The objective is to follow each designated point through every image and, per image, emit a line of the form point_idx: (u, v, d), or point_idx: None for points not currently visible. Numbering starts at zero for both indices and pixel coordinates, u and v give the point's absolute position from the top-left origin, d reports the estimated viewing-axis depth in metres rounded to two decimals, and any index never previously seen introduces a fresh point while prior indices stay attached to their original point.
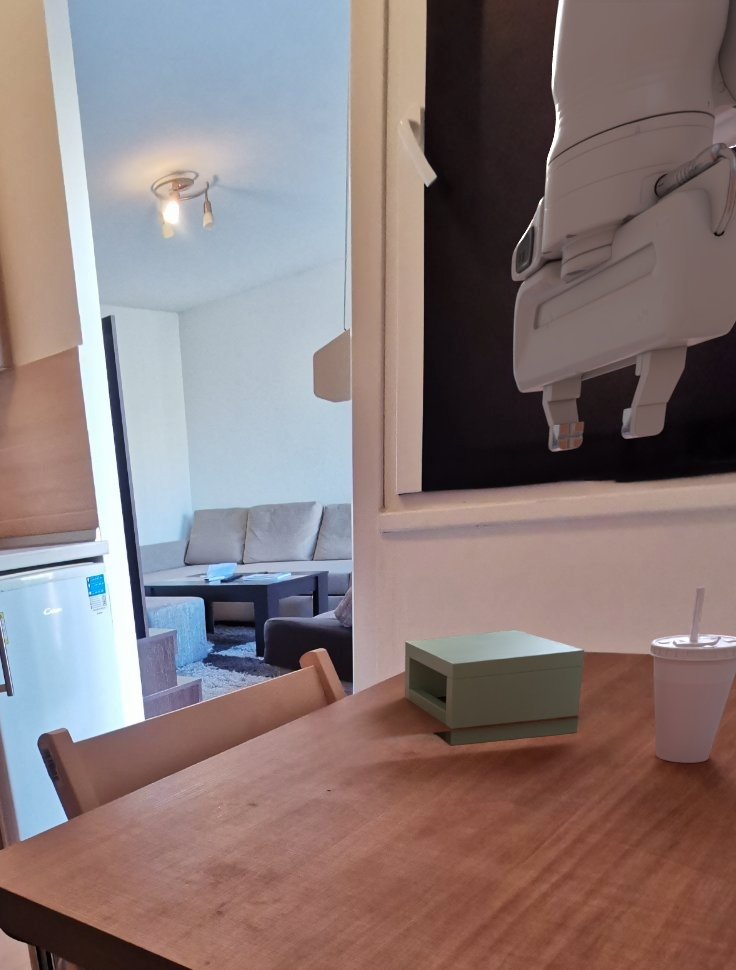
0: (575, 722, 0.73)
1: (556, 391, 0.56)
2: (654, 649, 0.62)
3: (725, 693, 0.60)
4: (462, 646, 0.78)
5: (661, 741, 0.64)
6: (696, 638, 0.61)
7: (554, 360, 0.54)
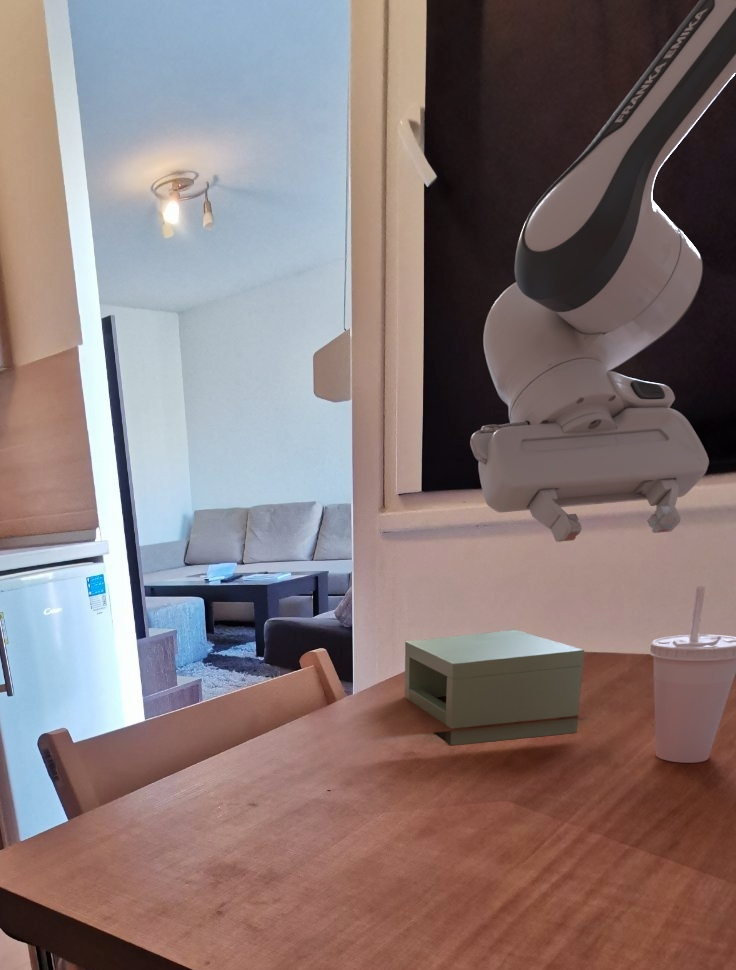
0: (575, 722, 0.73)
1: (650, 498, 0.71)
2: (654, 649, 0.62)
3: (725, 693, 0.60)
4: (462, 646, 0.78)
5: (661, 741, 0.64)
6: (696, 638, 0.61)
7: None
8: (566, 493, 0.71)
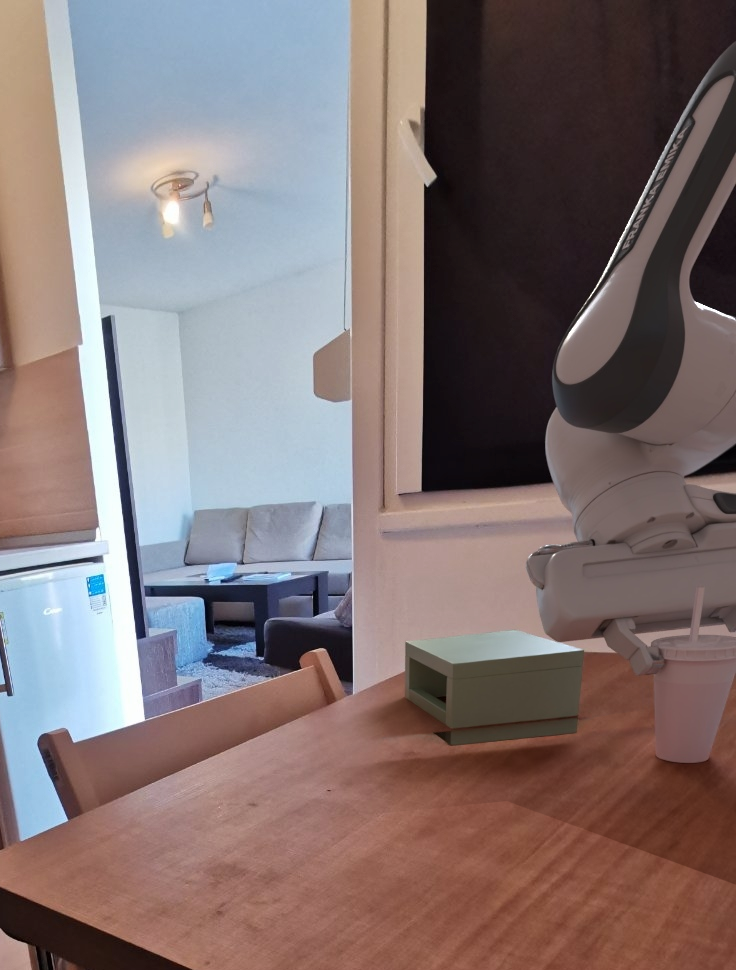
0: (575, 722, 0.73)
1: (729, 624, 0.63)
2: None
3: (725, 693, 0.60)
4: (462, 646, 0.78)
5: (661, 741, 0.64)
6: (696, 638, 0.60)
7: None
8: (638, 620, 0.64)
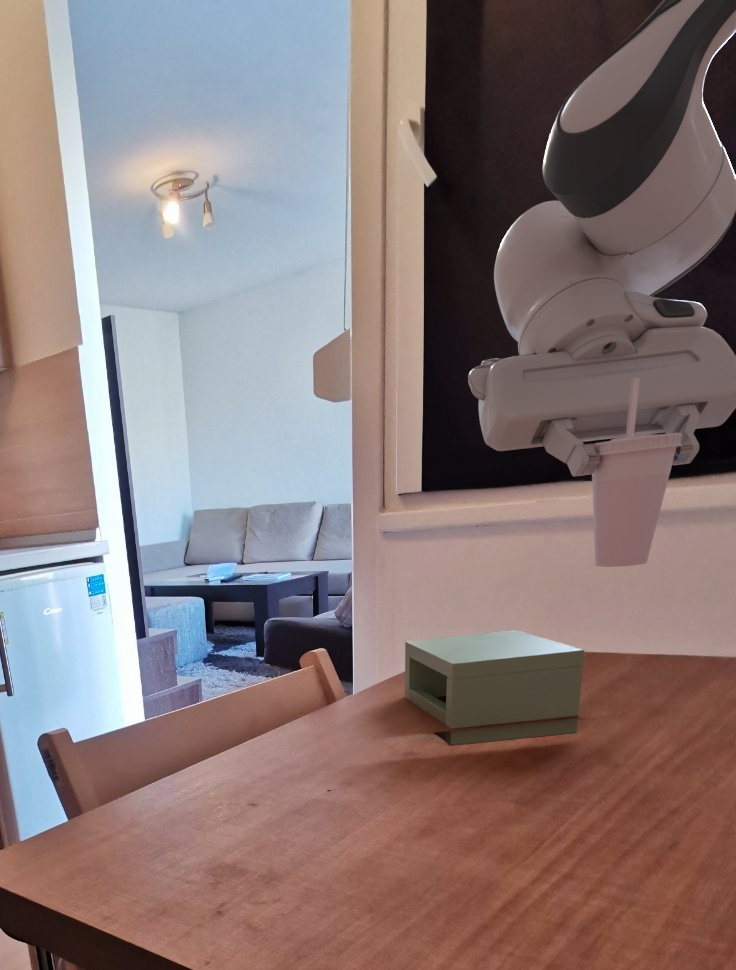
0: (575, 722, 0.73)
1: (667, 429, 0.63)
2: None
3: (660, 488, 0.60)
4: (462, 646, 0.78)
5: (599, 547, 0.64)
6: (632, 434, 0.60)
7: None
8: (577, 426, 0.64)
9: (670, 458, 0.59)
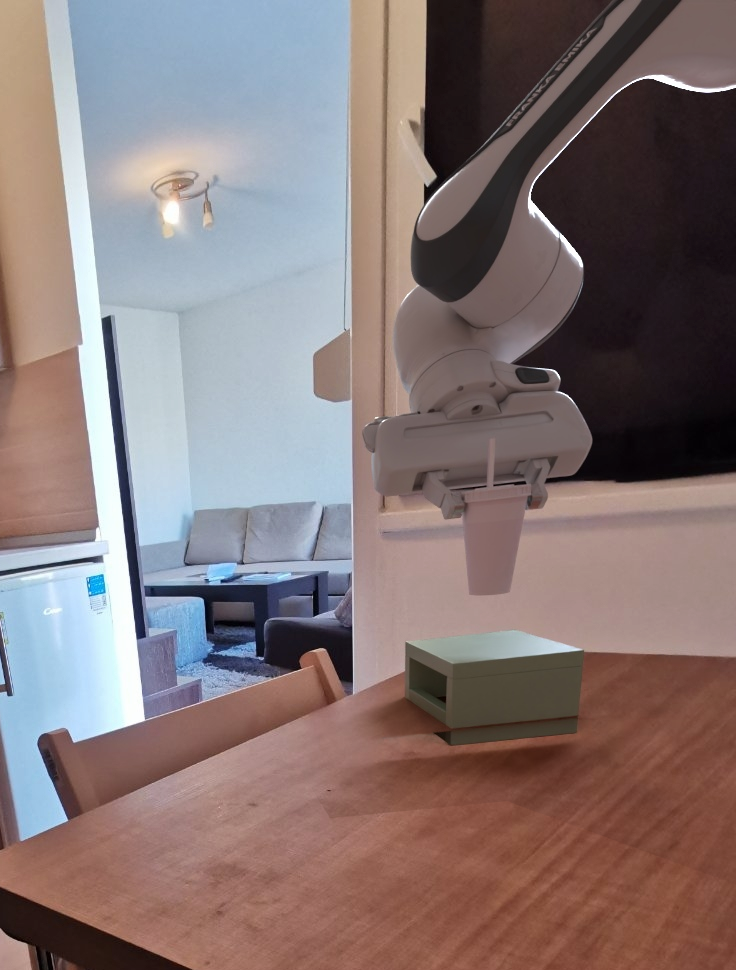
0: (575, 722, 0.73)
1: (527, 478, 0.74)
2: None
3: (515, 530, 0.71)
4: (462, 646, 0.78)
5: (470, 578, 0.75)
6: (491, 484, 0.71)
7: None
8: (451, 476, 0.75)
9: (521, 505, 0.70)
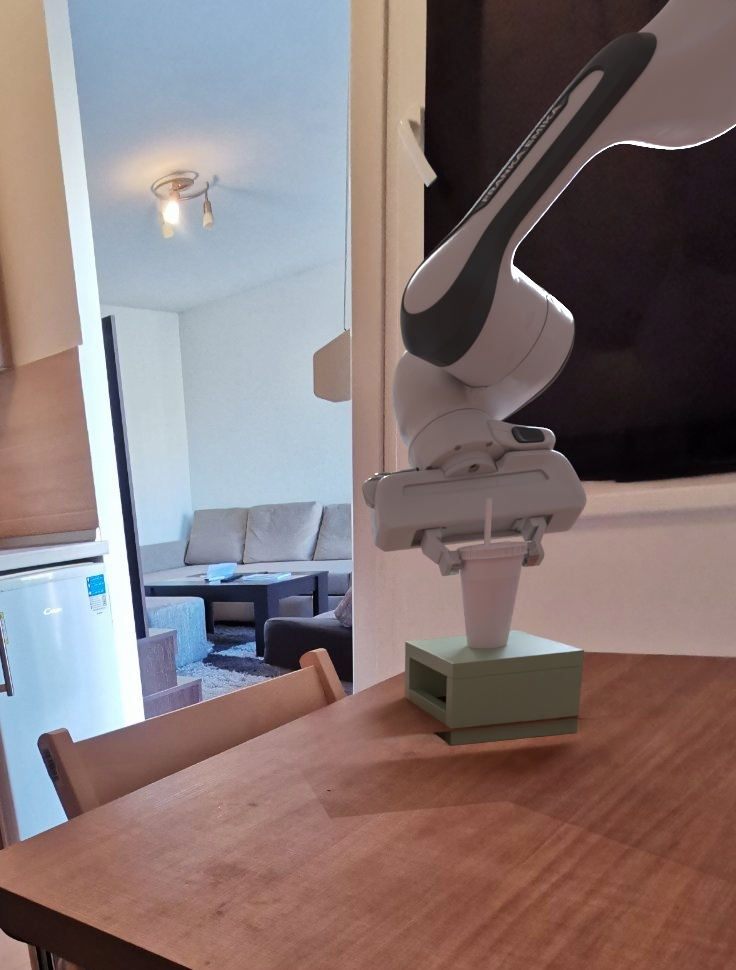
0: (575, 722, 0.73)
1: (524, 535, 0.76)
2: None
3: (511, 587, 0.73)
4: (462, 646, 0.78)
5: (468, 631, 0.76)
6: (488, 542, 0.73)
7: None
8: (449, 532, 0.77)
9: (518, 563, 0.72)
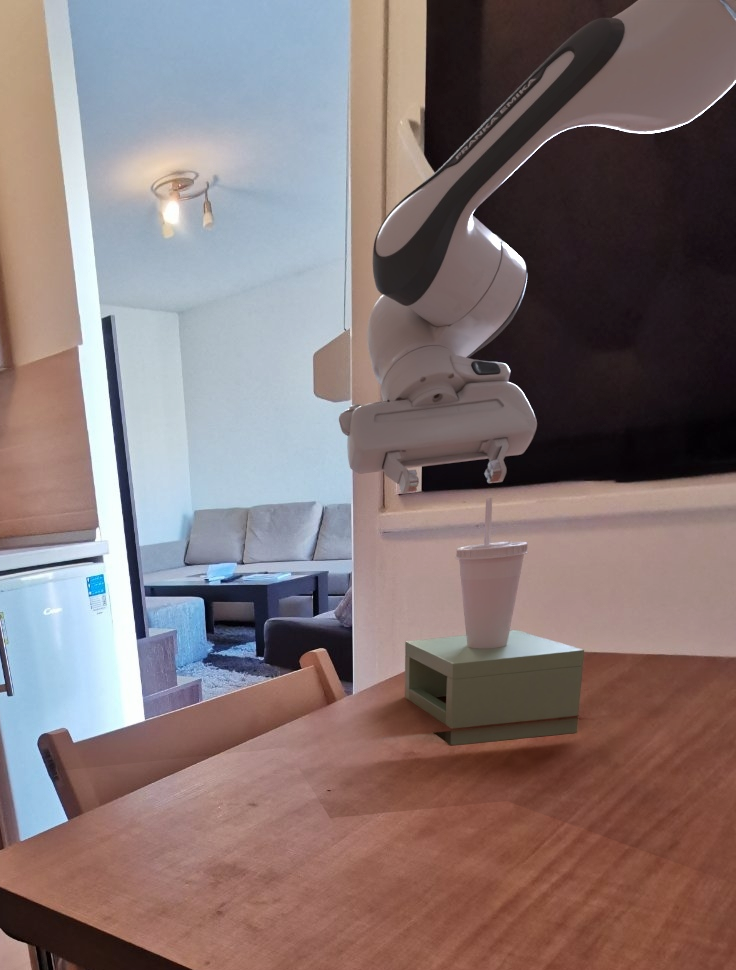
0: (575, 722, 0.73)
1: (489, 456, 0.85)
2: (457, 553, 0.75)
3: (511, 587, 0.73)
4: (462, 646, 0.78)
5: (468, 631, 0.76)
6: (488, 542, 0.73)
7: None
8: (416, 455, 0.86)
9: (518, 563, 0.72)
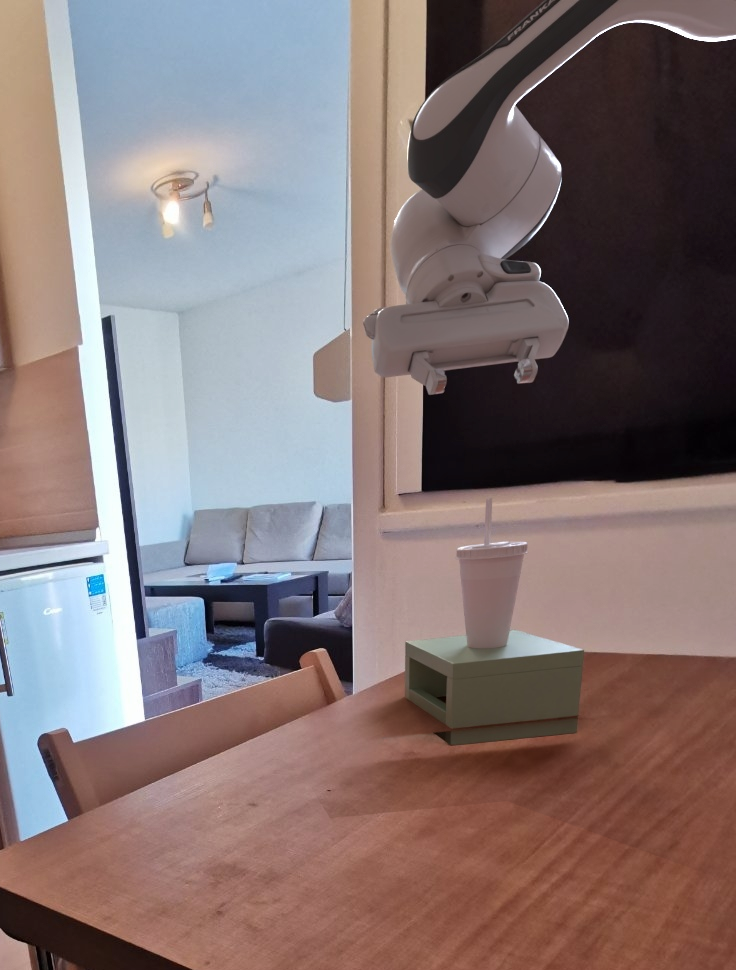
0: (575, 722, 0.73)
1: (519, 357, 0.83)
2: (457, 553, 0.75)
3: (511, 587, 0.73)
4: (462, 646, 0.78)
5: (468, 631, 0.76)
6: (488, 542, 0.73)
7: None
8: (443, 357, 0.84)
9: (518, 563, 0.72)
